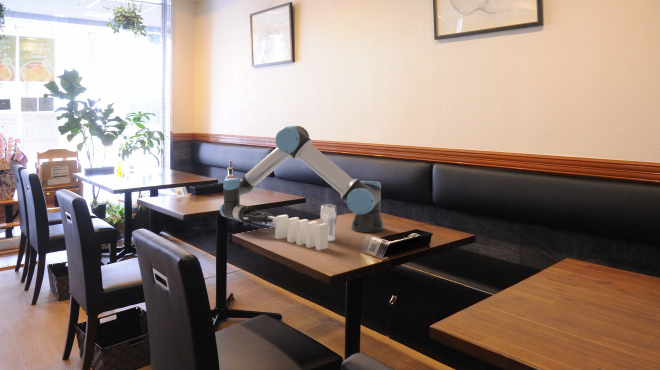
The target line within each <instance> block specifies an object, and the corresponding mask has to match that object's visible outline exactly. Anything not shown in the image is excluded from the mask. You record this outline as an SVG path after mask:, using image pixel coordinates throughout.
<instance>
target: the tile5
mask: <svg viewBox="0 0 660 370" xmlns="http://www.w3.org/2000/svg"><path fill="white" fill-rule="evenodd" d="M328 246H329V242H328V224H326V223H323V224H321V223H318V225H316V246H315V250H316V251H322V250H326V249H328V248H329V247H328Z"/></svg>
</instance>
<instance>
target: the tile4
mask: <svg viewBox="0 0 660 370" xmlns="http://www.w3.org/2000/svg"><path fill="white" fill-rule="evenodd" d="M318 224H319V222H318V221H316V220H313V221H308V223H306V244H305V247H306V248H313V247H316V225H318Z"/></svg>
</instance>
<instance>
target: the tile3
mask: <svg viewBox="0 0 660 370" xmlns="http://www.w3.org/2000/svg"><path fill="white" fill-rule="evenodd" d="M308 222H309V219H307V218H303V219H299V220H298V221H296V241H295V242H296V245H297V246H302V245H306V223H308Z"/></svg>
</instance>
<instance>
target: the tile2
mask: <svg viewBox="0 0 660 370" xmlns="http://www.w3.org/2000/svg"><path fill="white" fill-rule="evenodd" d="M298 220H300V218H299V217H298V216H295V217H290V218H289V217H288V219H287V234H286V238H287V239H286V240H287V243H291V244H292V243H295V242H296V221H298Z"/></svg>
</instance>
